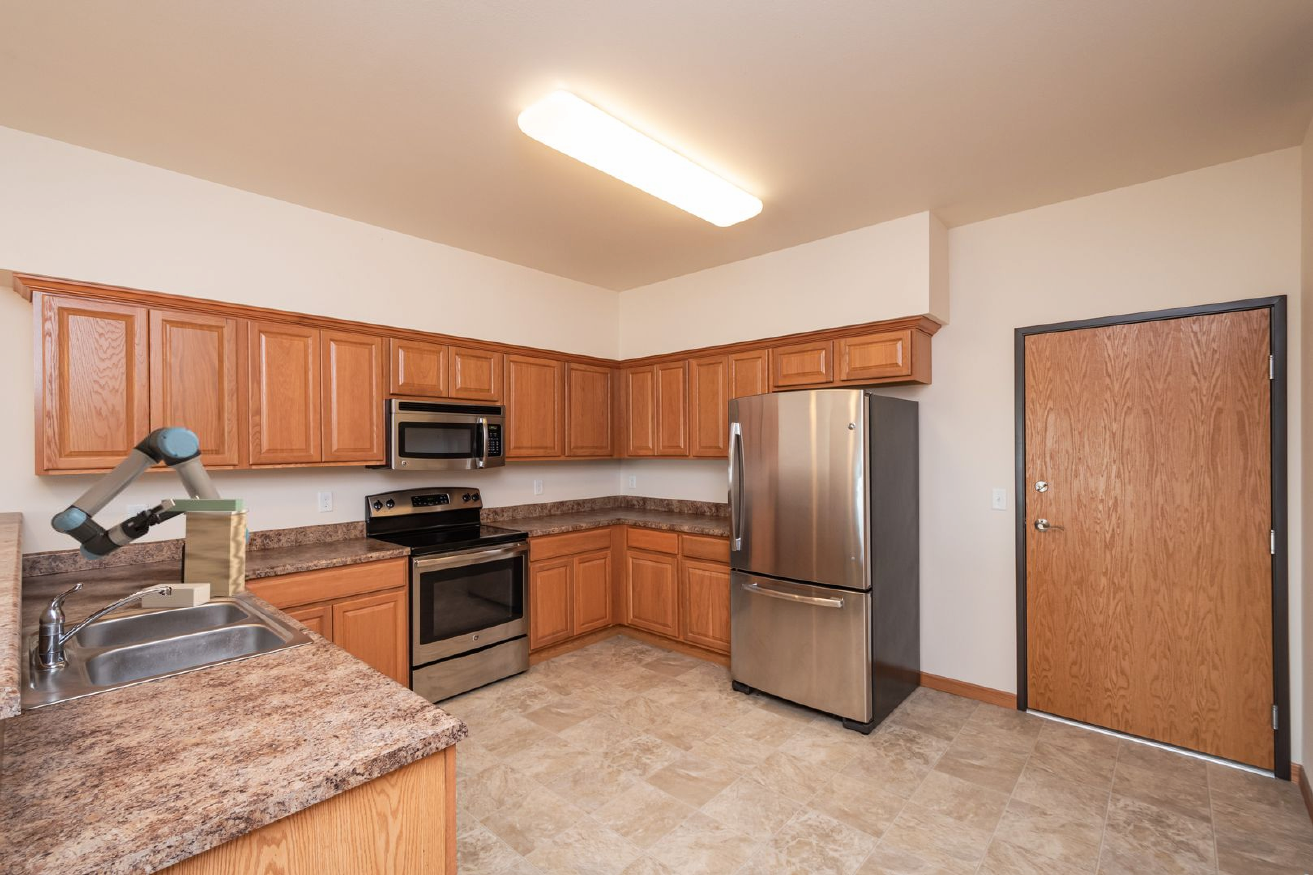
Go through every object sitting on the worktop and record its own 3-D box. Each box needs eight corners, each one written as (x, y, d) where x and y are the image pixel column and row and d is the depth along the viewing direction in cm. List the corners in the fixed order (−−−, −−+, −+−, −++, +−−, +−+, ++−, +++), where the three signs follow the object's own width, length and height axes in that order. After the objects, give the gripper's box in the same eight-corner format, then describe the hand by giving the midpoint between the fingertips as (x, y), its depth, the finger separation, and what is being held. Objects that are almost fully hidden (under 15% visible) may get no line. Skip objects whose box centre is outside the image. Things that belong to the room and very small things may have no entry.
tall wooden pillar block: (200, 591, 217) (202, 509, 218) (246, 590, 218) (248, 509, 219) (181, 597, 207) (183, 511, 208) (229, 597, 208) (231, 511, 209)
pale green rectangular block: (169, 510, 214) (169, 498, 214) (242, 509, 216) (242, 499, 216) (161, 511, 210) (161, 499, 210) (235, 511, 212) (235, 499, 212)
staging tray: (159, 601, 202) (160, 583, 202) (209, 600, 203) (210, 583, 203) (141, 607, 194) (142, 589, 194) (193, 606, 195) (193, 588, 195)
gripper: (161, 534, 223) (213, 506, 225) (106, 544, 199) (165, 512, 200) (151, 517, 223) (203, 489, 225) (94, 525, 198) (154, 493, 200)
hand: (186, 500), depth 213 cm, fingers open, 12 cm apart
